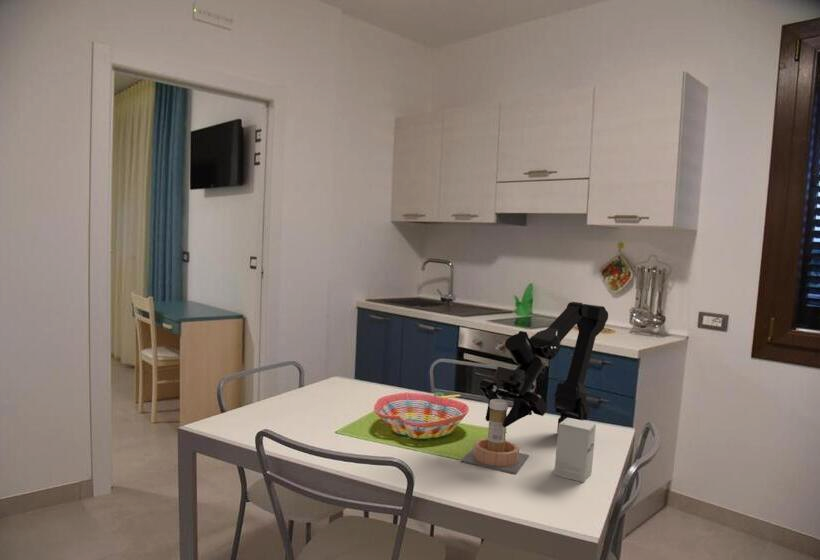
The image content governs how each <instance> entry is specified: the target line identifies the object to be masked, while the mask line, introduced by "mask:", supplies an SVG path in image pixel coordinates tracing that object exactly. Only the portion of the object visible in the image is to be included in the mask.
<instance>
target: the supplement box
mask: <svg viewBox="0 0 820 560" xmlns="http://www.w3.org/2000/svg"><path fill="white" fill-rule="evenodd" d="M596 426H597V423H595V422H592V421H587V420H584V421H582V420H577V419H572V418H566V419H565V420H563V421H562V422H561V423H559V426H558V425H557V428H558V432H557V439H556V451H555V462H554V473H553V474H554V475H555V476H559V477H562V478H566V479H568V480H569V479H570V480H573V481H577V482H581V483H585V481H586V479H587V478H589V476H590V475H591V474H592V473H593V464H594V463H593V461H594V451H595V441H596V440H595V439H596V438H595V437H596Z"/></svg>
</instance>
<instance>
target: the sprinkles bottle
mask: <svg viewBox="0 0 820 560" xmlns="http://www.w3.org/2000/svg"><path fill="white" fill-rule="evenodd" d="M489 407H490V417H489V421H488V433H487V438H488V448H487V450H488V451H493V452H505V451H504V447H505V440H506V435H507V434H506V433H507V428H506V427H503V422H504V420H505V418H506V417H507V415H508V413H507V411H508V408H509V402H508V401H507V400H505V399H502V398H501V399H492V400H490V406H489Z"/></svg>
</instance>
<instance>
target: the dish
mask: <svg viewBox="0 0 820 560" xmlns="http://www.w3.org/2000/svg"><path fill="white" fill-rule="evenodd" d="M487 448H488V437H486V438H481V439H477V440H476V441H475V442H474V443H473V448H471V450H469V452H468V453H466V454H465V456H463V458H461V459H460V463H464V464H468V465H473V466H477V467H483V468H486V469H492V470H495V471H499V472H503V473H508V474H514V475H518V473H519V472H520V471H521V468H522V467H523V466H524V464H525V462H526V461H527V460H528V458H529V457H530V454H527V453H523V452H520V448H519V446H518V445H517V444H516V443H513V442H511V441H508V440H506V439H505V447H504V451H505V452H493V451H488V450H487Z"/></svg>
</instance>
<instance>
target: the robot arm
mask: <svg viewBox="0 0 820 560" xmlns="http://www.w3.org/2000/svg"><path fill="white" fill-rule="evenodd" d="M608 320H609V312H608V311H607V309H606V307H605V306H604V305H595V304H589V303H587V304H586V303H585V302H577V301H571V302H569V303H568V304H567V305H566V308H565V309H564V310H563V311H562V312H561V313H560V314H559V315H558V316H557V318H556V319H555V320H554V321H553V322H552V323H551V324H550V325H549V326H548V327H547V328H546V329H543V330H540V331H537V332H536V333H535V334H534V335H532V336H530V337H529V334H528V333H527V332H526V331H523V330H522V331H521V330H519V331H518V333H515V334H513V335H511V336H509V337H508V338H506V339H505V343H504V347H505V349H506V350H507V352H508V353H509V355H510V356H511V359H512V360H513V361H514V362H515V364H518V365H517V366H516V368H515V369H510V368H506V367H502V366H497V368H496V370H495V373H494V376H493V379H494V380H497V381H499V382H500V383H499V384H500V386H501V387H502V388H499V386H498V385H497V382H495V381H493V380H489V379H486V378H483V379H481V380H480V382H479V383H478V385H477V387H478V388H479V390H480V391H481V392H482V394H483V396H484V397H485V398H486V399H487V400H488V405H487V409H486V415H485V421H486V422H489V417H490V407H489V406H490V400H492V399H502V398H505V399H507V400H511V401H513V403H512V404H513V405H512V407H511V409H510V410H509V411H508V413H507V416H506V418H505V420H504V422H503V427H508V426H510V425H512V424H514V423H515V422H517V421H519V420H520V419H523V418H525V417H527V416H532V415H533V414H535V415H538V416H541V417H544V416H545V414H546V412H547V411H548V408H547V407H548V406H547V404H546V402H545V400H544V398H543V397H542V395H541V394H539V393H535V392H532V391H533V390H534V389H535V385H534V383H535V381H536V380H537V378H538V376H539V375H540V373H542V374H547V373H546V372H547V369H546V366H545V364H546V363H545V362H543V361H542V359H545V360H547V361H551V360H554V359H555V358H556V356H557V355H558V353H559V351H560V350H561V342H562V341H563V339H564V338H566V336H567V335H568V334H569V333H570V332H571V331H572V329H574V327H575V326H576V327H577V330H578V335H577V338H576V342H575V345H574V350H573V352H572V353H573V354H572V357H571V360H570V365H569V369H568V372H567V376H566V379H564V381H563V382H558V383H557V385H556V389H555V393H554V394H553V396H554V397H553V402H554V403H553V404H554V408H555V411H554V412H555V413H556V414H560V416H559V417H558V420H557V428H556V429H557V430H556V432H557V433H558V426H559V423H561V422H562V421H563V420H565V419H566V418H572V419H577V420H582V421H587V420H588V419H589V418H590V417H591V412H592V411H591V408H590V406H589V405H588V403H587V391H586V388H585V385H584V383H585V380H586V376H587V372H588V368H589V364H590V360H591V356H592V352H593V348H594V345H595V341H596V338H597V336H598V335H599V334H600V333H601V332H602V331H603V330H604V329H605V326H606V324H607V321H608ZM530 390H532V391H530Z"/></svg>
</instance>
